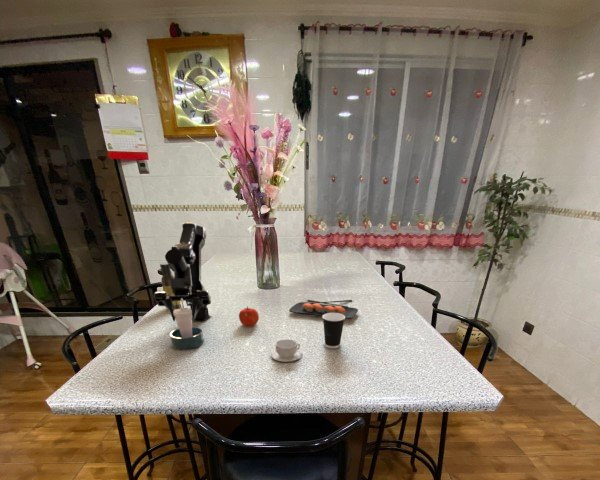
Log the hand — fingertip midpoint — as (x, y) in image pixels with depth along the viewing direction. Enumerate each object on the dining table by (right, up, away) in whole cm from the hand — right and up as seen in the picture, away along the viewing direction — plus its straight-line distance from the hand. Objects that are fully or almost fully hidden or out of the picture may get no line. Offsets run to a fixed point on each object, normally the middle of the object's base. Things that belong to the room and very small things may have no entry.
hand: (183, 320), depth 126 cm
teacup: (+36, -13, -4) cm, 39 cm away
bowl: (0, -7, +6) cm, 9 cm away
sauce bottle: (-18, +15, +42) cm, 48 cm away
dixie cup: (+53, -9, +3) cm, 54 cm away
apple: (+20, +3, +22) cm, 30 cm away
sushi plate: (+54, +14, +39) cm, 68 cm away
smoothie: (0, -5, +4) cm, 7 cm away
